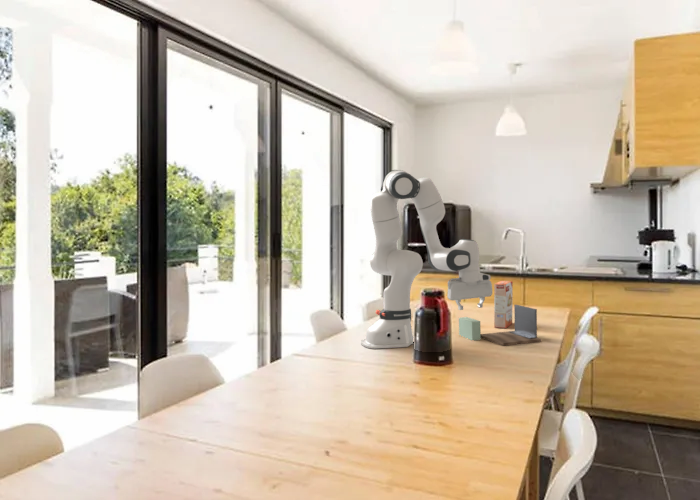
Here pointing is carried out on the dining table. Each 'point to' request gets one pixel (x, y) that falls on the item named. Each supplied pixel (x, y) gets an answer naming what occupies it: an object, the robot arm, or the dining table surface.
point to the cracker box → (503, 304)
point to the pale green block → (469, 328)
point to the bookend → (525, 322)
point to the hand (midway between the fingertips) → (470, 308)
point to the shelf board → (508, 338)
